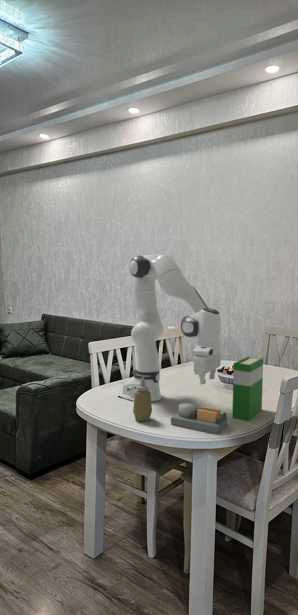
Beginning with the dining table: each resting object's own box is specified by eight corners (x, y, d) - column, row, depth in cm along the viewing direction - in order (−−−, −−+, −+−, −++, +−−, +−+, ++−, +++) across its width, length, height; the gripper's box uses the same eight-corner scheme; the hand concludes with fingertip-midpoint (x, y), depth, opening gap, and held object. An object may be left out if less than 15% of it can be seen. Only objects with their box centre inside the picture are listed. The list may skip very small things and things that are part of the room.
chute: (196, 419, 163) (197, 409, 163) (201, 415, 168) (201, 406, 167) (215, 423, 159) (215, 413, 159) (220, 419, 164) (220, 409, 163)
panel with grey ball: (170, 424, 166) (171, 407, 165) (183, 416, 176) (183, 400, 175) (216, 434, 155) (217, 416, 155) (227, 424, 166) (227, 408, 165)
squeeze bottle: (151, 416, 175) (152, 375, 174) (152, 422, 167) (152, 380, 166) (133, 416, 175) (133, 375, 174) (132, 422, 167) (133, 380, 166)
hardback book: (246, 407, 189) (247, 356, 187) (261, 409, 185) (263, 358, 183) (232, 417, 174) (233, 363, 173) (249, 421, 170) (250, 365, 169)
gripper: (211, 343, 175) (209, 375, 176) (191, 350, 157) (189, 385, 158) (225, 345, 171) (223, 377, 173) (206, 352, 154) (204, 388, 155)
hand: (207, 381), depth 165 cm, fingers open, 8 cm apart
